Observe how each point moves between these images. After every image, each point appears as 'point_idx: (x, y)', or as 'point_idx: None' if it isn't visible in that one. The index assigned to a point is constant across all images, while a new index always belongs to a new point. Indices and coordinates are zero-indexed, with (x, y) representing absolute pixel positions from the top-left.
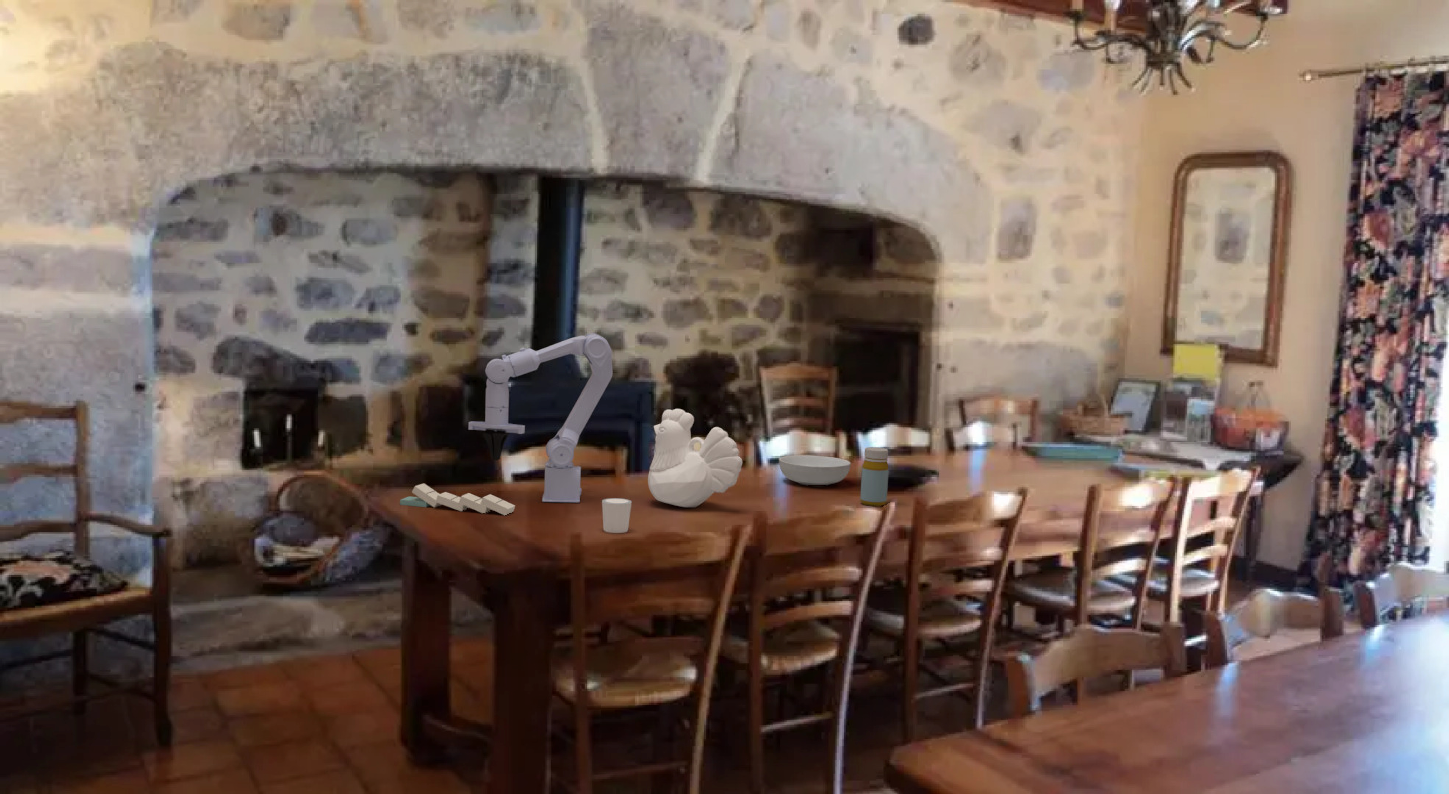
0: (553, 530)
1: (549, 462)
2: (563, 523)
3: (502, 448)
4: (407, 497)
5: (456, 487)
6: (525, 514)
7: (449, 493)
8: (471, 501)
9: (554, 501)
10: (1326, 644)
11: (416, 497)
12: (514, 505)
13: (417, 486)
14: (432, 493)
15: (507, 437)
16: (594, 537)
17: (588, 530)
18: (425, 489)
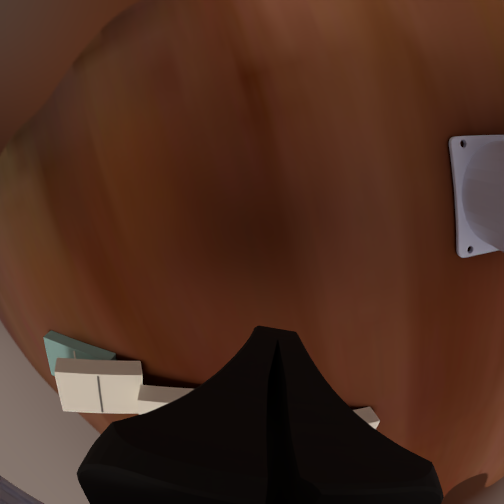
0: (441, 482)
1: None
2: (470, 444)
3: (323, 380)
4: (48, 350)
5: (78, 77)
6: (403, 415)
7: (153, 403)
8: None
9: (491, 250)
10: None
11: (63, 348)
12: (377, 422)
13: (65, 405)
14: (106, 395)
15: (400, 453)
16: (488, 481)
17: (494, 459)
18: (83, 397)
